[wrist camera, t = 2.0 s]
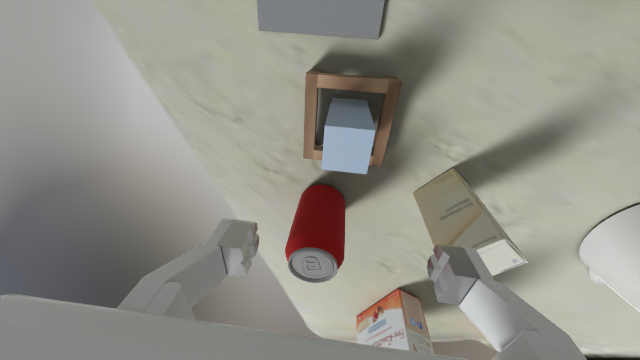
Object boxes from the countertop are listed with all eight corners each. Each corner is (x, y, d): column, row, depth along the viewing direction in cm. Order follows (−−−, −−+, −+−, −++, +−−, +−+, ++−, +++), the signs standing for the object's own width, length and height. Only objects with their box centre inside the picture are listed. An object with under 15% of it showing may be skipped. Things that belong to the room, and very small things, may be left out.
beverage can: (305, 218, 37) (289, 286, 27) (296, 183, 33) (274, 246, 23) (347, 215, 36) (347, 286, 25) (342, 179, 32) (340, 244, 22)
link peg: (366, 100, 26) (375, 130, 18) (361, 133, 28) (366, 174, 20) (332, 97, 26) (324, 125, 18) (329, 130, 29) (321, 169, 20)
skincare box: (452, 166, 29) (507, 235, 19) (470, 187, 31) (532, 262, 20) (410, 193, 32) (439, 266, 22) (429, 211, 34) (465, 288, 23)
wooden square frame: (396, 77, 25) (401, 81, 22) (378, 155, 30) (381, 166, 27) (310, 69, 25) (305, 73, 23) (307, 148, 30) (303, 158, 28)
